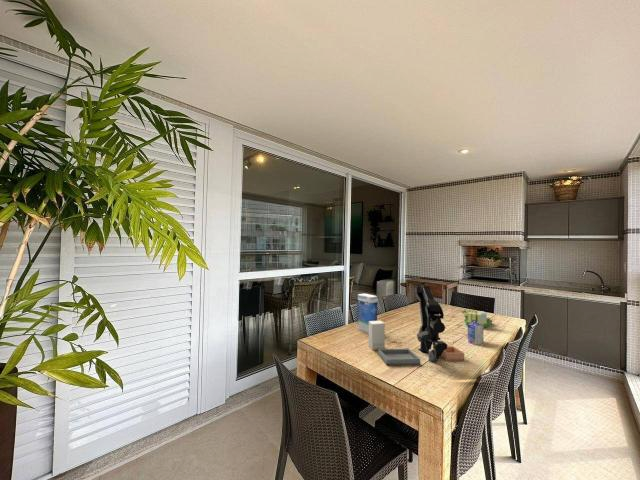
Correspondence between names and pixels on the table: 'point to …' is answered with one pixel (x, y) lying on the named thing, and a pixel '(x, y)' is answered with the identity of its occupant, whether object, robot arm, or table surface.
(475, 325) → the ink cartridge box
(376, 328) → the skincare box
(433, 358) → the battery cell
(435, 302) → the robot arm
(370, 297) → the blue white lidded canister
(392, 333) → the table surface
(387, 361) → the tray
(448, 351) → the bin
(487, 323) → the toy landscape diorama
